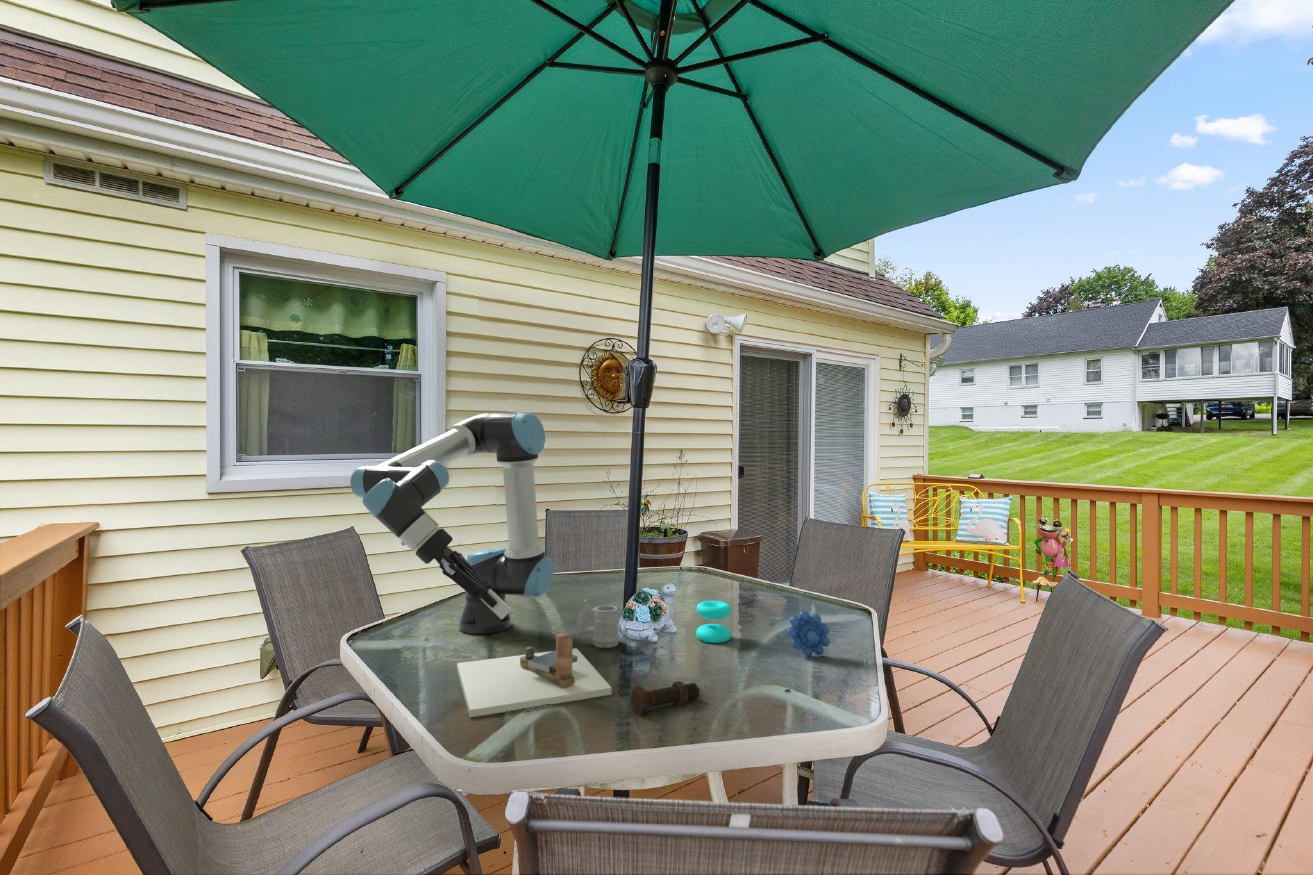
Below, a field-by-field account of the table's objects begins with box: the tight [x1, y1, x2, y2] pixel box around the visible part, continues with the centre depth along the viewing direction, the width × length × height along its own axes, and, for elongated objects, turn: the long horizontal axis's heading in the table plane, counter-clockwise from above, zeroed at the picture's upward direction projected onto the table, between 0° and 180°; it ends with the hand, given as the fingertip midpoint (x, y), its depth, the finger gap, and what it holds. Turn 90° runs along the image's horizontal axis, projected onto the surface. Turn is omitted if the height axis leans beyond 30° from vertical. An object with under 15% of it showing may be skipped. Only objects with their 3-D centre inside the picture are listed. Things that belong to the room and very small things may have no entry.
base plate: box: [456, 647, 613, 718], centre depth 138 cm, size 28×30×2 cm
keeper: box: [528, 649, 577, 672], centre depth 139 cm, size 9×7×5 cm
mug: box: [577, 599, 621, 649], centre depth 166 cm, size 8×12×12 cm, turn 86°
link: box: [520, 632, 575, 687], centre depth 139 cm, size 19×4×10 cm, turn 42°
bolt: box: [630, 680, 701, 717], centre depth 126 cm, size 6×5×15 cm
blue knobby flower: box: [786, 610, 831, 657], centre depth 156 cm, size 12×7×12 cm, turn 95°
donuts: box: [695, 600, 732, 644], centre depth 171 cm, size 10×10×10 cm
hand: (506, 614), depth 130 cm, fingers closed
